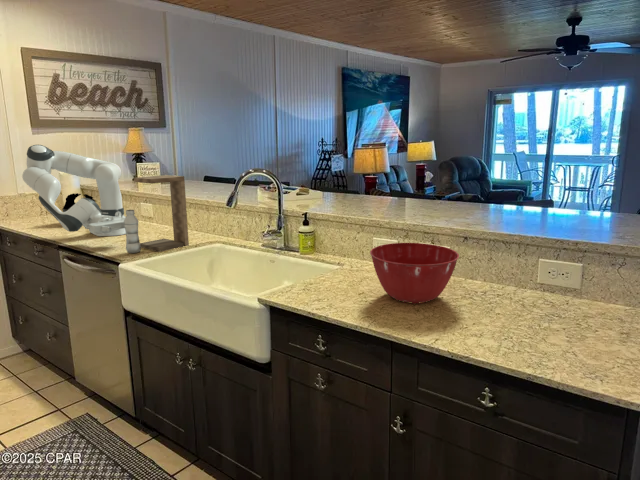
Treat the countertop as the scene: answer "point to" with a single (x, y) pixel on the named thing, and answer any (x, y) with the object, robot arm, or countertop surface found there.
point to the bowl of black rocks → (71, 198)
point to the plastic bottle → (131, 232)
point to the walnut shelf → (177, 213)
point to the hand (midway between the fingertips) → (119, 227)
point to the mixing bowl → (413, 270)
